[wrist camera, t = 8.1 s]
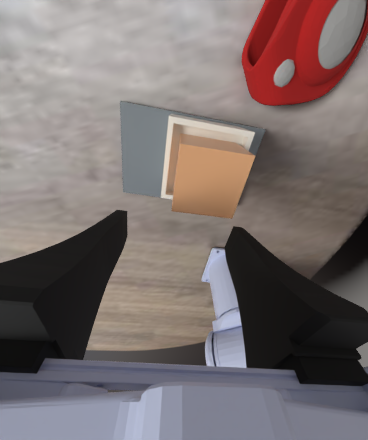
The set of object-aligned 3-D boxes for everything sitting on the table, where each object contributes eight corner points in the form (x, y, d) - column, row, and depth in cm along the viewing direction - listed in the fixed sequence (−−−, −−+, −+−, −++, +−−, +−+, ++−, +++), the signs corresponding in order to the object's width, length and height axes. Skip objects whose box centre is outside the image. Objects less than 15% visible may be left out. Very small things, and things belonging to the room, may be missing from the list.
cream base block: (238, 126, 17) (255, 132, 13) (220, 188, 20) (228, 207, 17) (171, 113, 16) (168, 115, 12) (164, 180, 20) (160, 197, 16)
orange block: (235, 142, 14) (255, 155, 10) (220, 193, 17) (232, 218, 13) (180, 133, 14) (180, 143, 10) (173, 186, 16) (171, 211, 12)
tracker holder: (386, 57, 14) (283, 137, 15) (332, 64, 17) (251, 129, 18) (478, -350, 6) (244, -119, 7) (346, -192, 9) (200, -52, 10)
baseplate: (262, 128, 17) (265, 129, 17) (234, 204, 22) (235, 207, 22) (122, 101, 16) (119, 101, 15) (125, 189, 21) (123, 192, 20)
